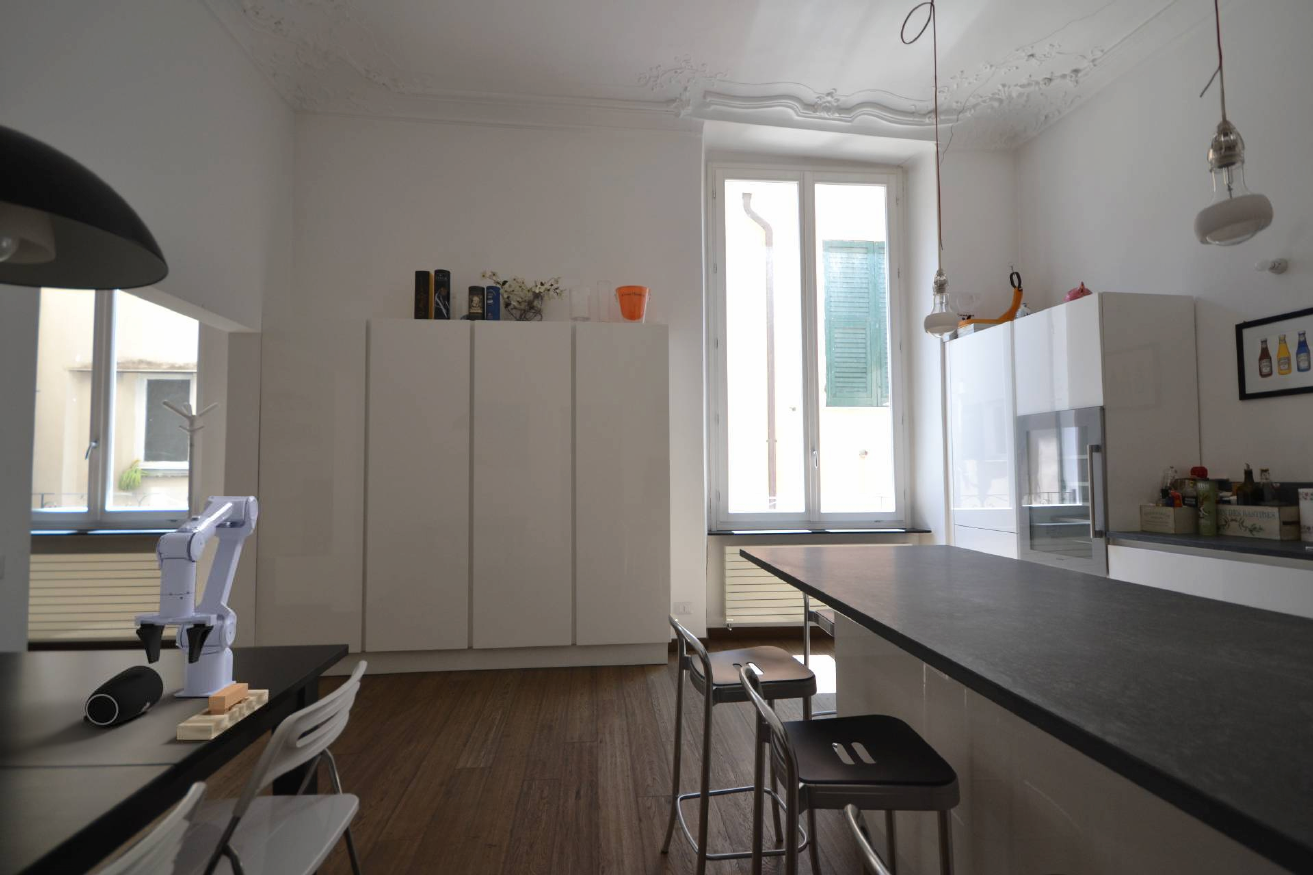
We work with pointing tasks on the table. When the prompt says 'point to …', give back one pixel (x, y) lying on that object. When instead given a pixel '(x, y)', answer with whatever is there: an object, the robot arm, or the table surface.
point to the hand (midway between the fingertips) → (173, 662)
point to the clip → (227, 698)
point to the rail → (220, 718)
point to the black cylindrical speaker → (124, 696)
